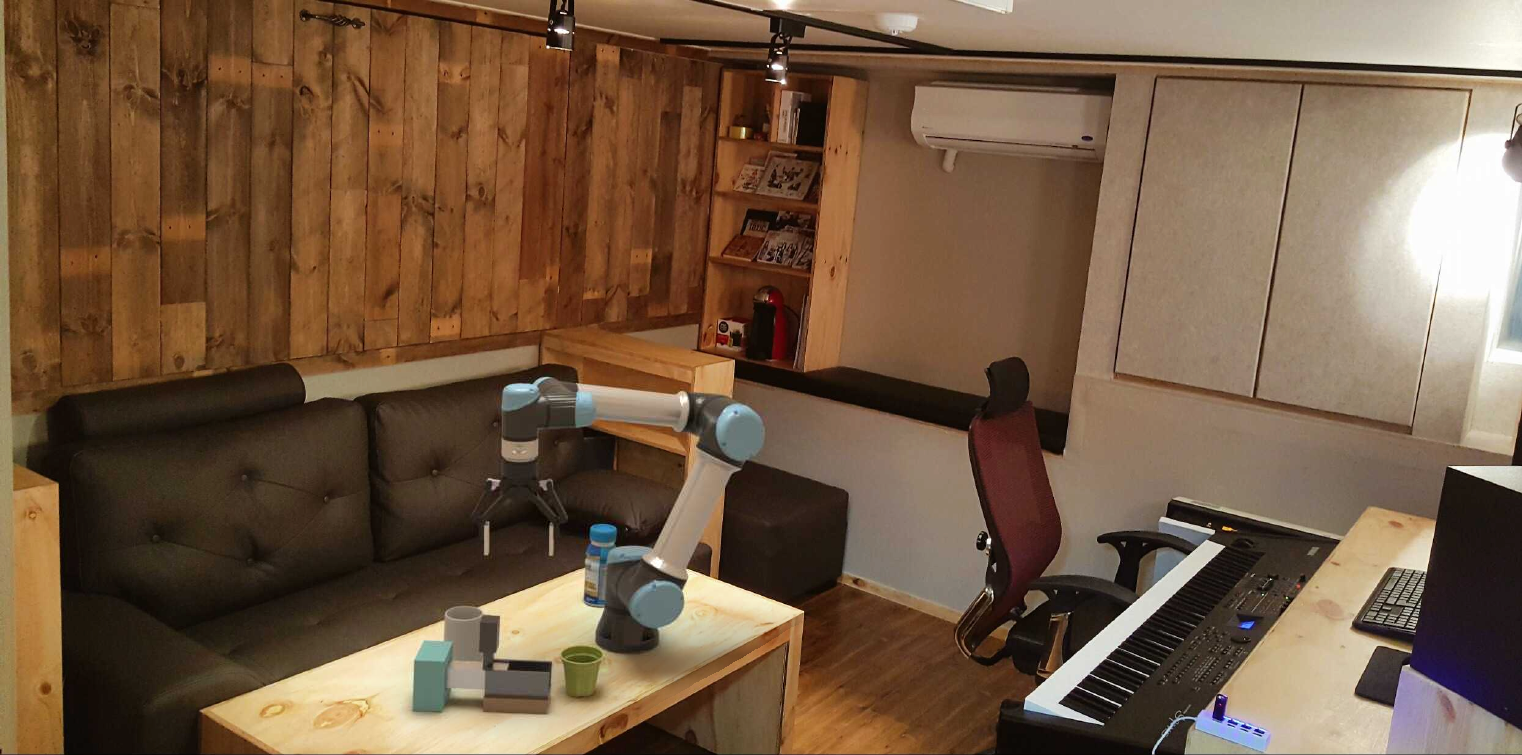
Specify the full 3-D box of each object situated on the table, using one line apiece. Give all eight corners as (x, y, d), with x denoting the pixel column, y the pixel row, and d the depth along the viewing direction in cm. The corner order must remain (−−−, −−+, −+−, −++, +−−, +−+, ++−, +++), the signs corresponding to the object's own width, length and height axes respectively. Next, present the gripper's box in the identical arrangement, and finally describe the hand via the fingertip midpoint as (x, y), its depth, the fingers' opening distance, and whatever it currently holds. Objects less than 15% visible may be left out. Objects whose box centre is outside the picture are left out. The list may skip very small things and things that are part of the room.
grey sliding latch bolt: (508, 681, 252) (511, 616, 250) (505, 690, 248) (508, 624, 246) (430, 678, 251) (432, 612, 248) (426, 687, 247) (428, 620, 244)
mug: (455, 670, 265) (457, 623, 263) (435, 656, 271) (437, 610, 268) (502, 657, 273) (504, 611, 271) (482, 644, 279) (484, 599, 277)
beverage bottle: (613, 609, 306) (617, 534, 302) (580, 606, 306) (584, 531, 302) (617, 597, 314) (622, 524, 311) (585, 594, 314) (589, 521, 311)
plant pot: (582, 705, 253) (584, 667, 251) (548, 692, 258) (550, 654, 256) (610, 690, 261) (613, 653, 259) (577, 678, 266) (579, 641, 264)
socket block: (451, 690, 255) (453, 641, 253) (442, 711, 245) (444, 661, 243) (422, 688, 254) (424, 640, 252) (412, 710, 245) (414, 660, 243)
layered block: (550, 696, 256) (552, 659, 254) (546, 713, 248) (548, 675, 246) (488, 693, 255) (490, 656, 253) (483, 711, 247) (484, 672, 245)
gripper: (456, 461, 248) (457, 559, 252) (579, 463, 251) (577, 559, 255) (461, 451, 255) (461, 546, 259) (580, 453, 258) (578, 547, 262)
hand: (519, 553), depth 257 cm, fingers open, 13 cm apart
